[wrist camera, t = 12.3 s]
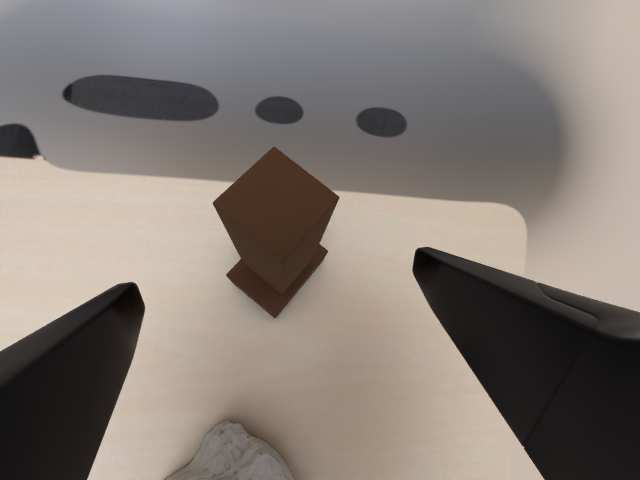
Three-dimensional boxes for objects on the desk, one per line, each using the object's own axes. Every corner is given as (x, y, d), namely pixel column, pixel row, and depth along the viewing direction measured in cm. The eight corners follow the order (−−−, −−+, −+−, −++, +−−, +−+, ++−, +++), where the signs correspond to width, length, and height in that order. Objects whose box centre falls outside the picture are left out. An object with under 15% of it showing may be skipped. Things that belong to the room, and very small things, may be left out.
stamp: (275, 318, 22) (269, 299, 9) (232, 282, 22) (173, 219, 10) (322, 260, 24) (368, 182, 11) (282, 228, 24) (285, 119, 12)
